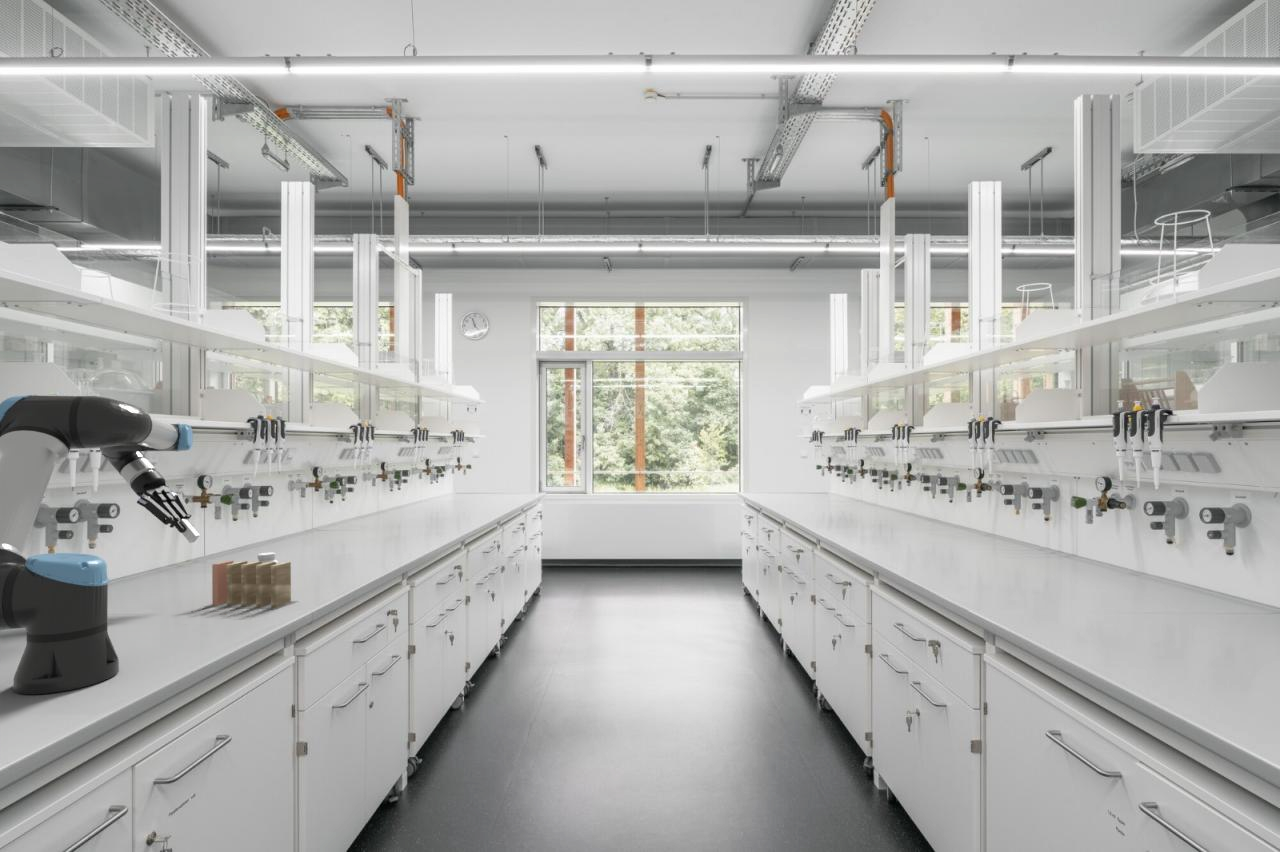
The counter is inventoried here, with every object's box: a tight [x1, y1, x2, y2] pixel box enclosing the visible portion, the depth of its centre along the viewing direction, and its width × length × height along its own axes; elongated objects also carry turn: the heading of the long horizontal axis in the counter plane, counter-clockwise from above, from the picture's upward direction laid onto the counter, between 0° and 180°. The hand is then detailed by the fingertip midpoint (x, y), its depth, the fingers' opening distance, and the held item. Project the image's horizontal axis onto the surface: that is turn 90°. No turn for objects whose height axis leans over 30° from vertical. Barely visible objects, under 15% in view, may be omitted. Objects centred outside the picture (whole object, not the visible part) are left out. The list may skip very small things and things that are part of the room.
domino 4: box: [256, 562, 276, 607], centre depth 185 cm, size 2×6×11 cm, turn 169°
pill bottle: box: [257, 552, 279, 564], centre depth 204 cm, size 6×6×11 cm
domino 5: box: [271, 561, 292, 608], centre depth 184 cm, size 2×6×11 cm, turn 169°
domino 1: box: [211, 560, 234, 605], centre depth 188 cm, size 2×6×11 cm, turn 169°
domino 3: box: [241, 560, 262, 607], centre depth 186 cm, size 2×6×11 cm, turn 169°
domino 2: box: [227, 560, 248, 606], centre depth 187 cm, size 2×6×11 cm, turn 169°
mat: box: [203, 600, 300, 611], centre depth 186 cm, size 22×9×1 cm, turn 79°
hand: (195, 539), depth 190 cm, fingers closed
